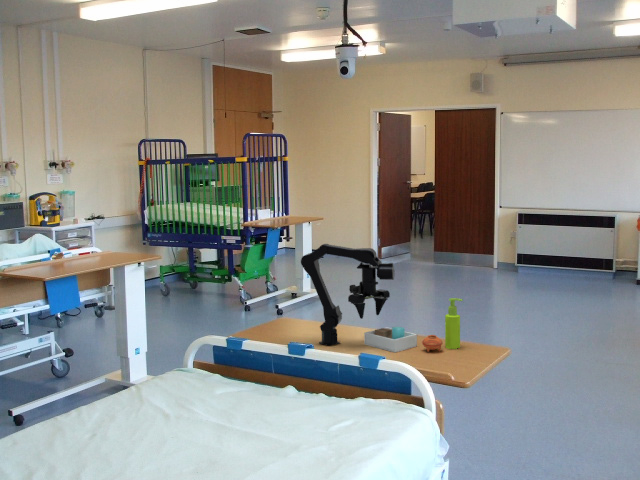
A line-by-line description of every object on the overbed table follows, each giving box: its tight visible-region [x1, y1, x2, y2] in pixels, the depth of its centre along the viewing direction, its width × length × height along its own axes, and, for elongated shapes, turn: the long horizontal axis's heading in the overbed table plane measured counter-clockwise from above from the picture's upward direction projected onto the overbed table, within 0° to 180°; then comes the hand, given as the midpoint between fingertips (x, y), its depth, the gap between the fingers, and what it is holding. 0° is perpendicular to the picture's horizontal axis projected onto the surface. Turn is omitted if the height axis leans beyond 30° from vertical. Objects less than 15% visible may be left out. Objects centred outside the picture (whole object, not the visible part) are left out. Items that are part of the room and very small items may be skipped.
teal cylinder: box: [392, 326, 406, 340], centre depth 263 cm, size 5×5×7 cm
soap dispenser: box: [444, 297, 463, 350], centre depth 260 cm, size 6×7×20 cm
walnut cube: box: [374, 327, 392, 339], centre depth 269 cm, size 5×5×5 cm
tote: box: [363, 327, 418, 353], centre depth 266 cm, size 17×13×5 cm
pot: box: [421, 334, 443, 353], centre depth 256 cm, size 8×8×7 cm
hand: (369, 316), depth 266 cm, fingers open, 9 cm apart
